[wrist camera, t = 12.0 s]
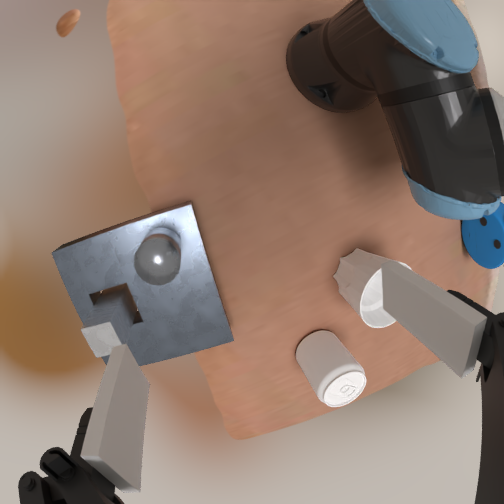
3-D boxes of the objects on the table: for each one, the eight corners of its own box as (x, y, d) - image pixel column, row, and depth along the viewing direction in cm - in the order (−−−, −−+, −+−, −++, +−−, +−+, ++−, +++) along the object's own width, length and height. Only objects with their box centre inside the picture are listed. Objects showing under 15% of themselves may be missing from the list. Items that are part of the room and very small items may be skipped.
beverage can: (315, 321, 48) (347, 362, 37) (344, 338, 51) (377, 377, 39) (285, 356, 49) (309, 402, 38) (316, 370, 51) (343, 413, 40)
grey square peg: (104, 287, 39) (80, 329, 28) (128, 280, 39) (109, 321, 28) (115, 310, 40) (96, 357, 29) (138, 304, 41) (125, 350, 29)
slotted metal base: (62, 244, 36) (31, 267, 26) (190, 200, 38) (191, 212, 29) (115, 357, 42) (103, 398, 33) (230, 326, 45) (241, 366, 35)
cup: (342, 235, 44) (378, 254, 35) (387, 251, 47) (424, 270, 38) (319, 294, 47) (348, 323, 37) (365, 304, 49) (397, 330, 40)
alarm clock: (475, 248, 53) (523, 268, 39) (460, 258, 53) (510, 282, 39) (472, 193, 49) (527, 207, 35) (457, 201, 48) (514, 217, 34)
